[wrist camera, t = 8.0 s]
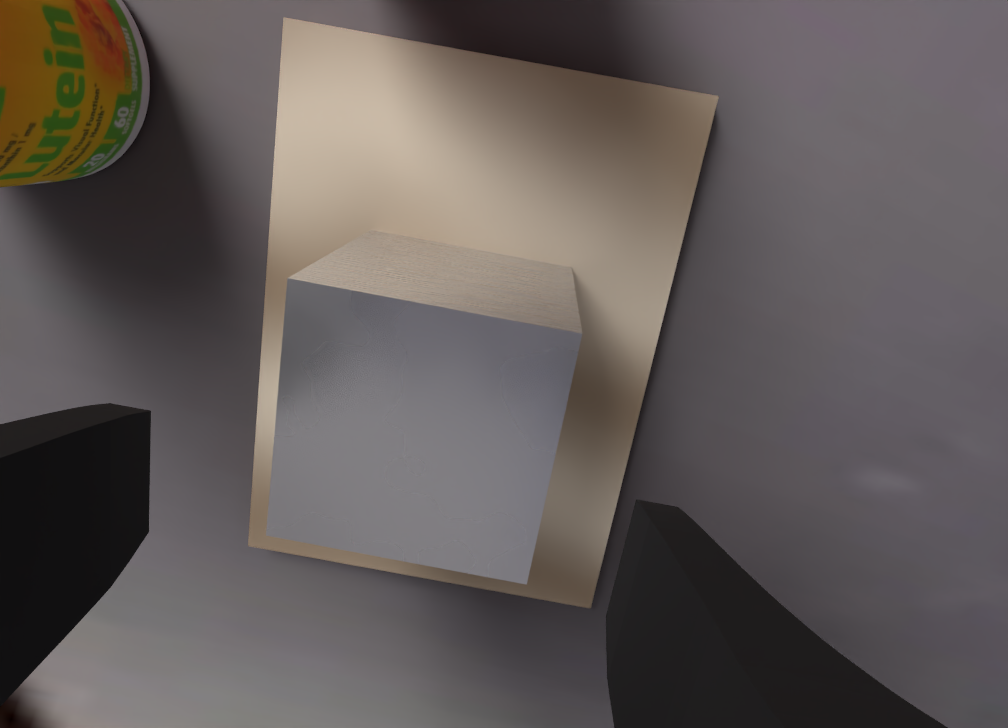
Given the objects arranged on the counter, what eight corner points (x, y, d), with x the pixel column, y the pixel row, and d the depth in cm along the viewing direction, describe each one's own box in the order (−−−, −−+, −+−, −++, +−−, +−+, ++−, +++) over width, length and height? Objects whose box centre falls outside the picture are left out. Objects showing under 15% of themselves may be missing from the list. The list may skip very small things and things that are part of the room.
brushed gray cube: (533, 450, 19) (526, 584, 14) (349, 415, 19) (265, 535, 14) (571, 267, 18) (582, 333, 12) (371, 229, 18) (287, 278, 12)
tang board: (589, 591, 22) (598, 699, 17) (258, 531, 22) (190, 625, 17) (711, 97, 17) (762, 88, 13) (295, 22, 17) (216, -11, 13)
